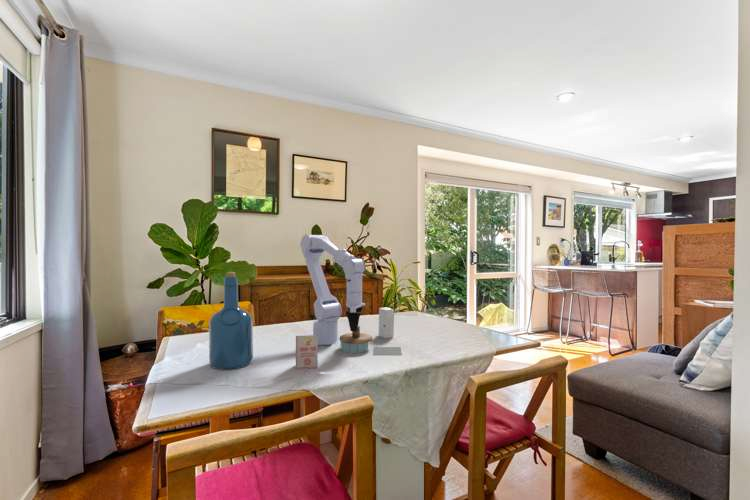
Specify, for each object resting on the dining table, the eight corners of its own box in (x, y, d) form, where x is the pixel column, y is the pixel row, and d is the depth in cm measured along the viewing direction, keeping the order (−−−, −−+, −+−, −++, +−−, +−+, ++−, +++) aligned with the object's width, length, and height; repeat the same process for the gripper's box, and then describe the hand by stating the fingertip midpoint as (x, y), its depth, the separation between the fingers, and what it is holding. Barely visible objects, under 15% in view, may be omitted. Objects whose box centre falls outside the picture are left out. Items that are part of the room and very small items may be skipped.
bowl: (339, 354, 131) (339, 342, 131) (342, 346, 141) (342, 335, 141) (367, 354, 131) (367, 342, 130) (368, 346, 141) (368, 335, 140)
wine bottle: (210, 360, 124) (209, 271, 124) (252, 355, 129) (251, 270, 128) (207, 373, 111) (206, 274, 111) (253, 368, 116) (253, 273, 115)
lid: (337, 343, 130) (337, 329, 130) (342, 334, 142) (342, 322, 142) (371, 343, 129) (371, 330, 129) (373, 335, 141) (373, 322, 141)
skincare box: (377, 336, 155) (377, 307, 155) (387, 335, 157) (387, 306, 157) (385, 339, 150) (385, 310, 149) (394, 338, 152) (394, 309, 152)
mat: (373, 356, 128) (373, 355, 127) (373, 348, 138) (373, 346, 137) (402, 356, 127) (402, 355, 127) (400, 348, 137) (400, 346, 137)
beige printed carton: (296, 365, 119) (296, 334, 119) (317, 364, 120) (317, 333, 120) (295, 369, 115) (295, 337, 115) (317, 367, 117) (317, 336, 116)
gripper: (364, 294, 128) (364, 333, 128) (366, 289, 142) (366, 324, 143) (344, 294, 128) (344, 333, 128) (347, 288, 142) (347, 323, 143)
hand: (354, 328), depth 135 cm, fingers open, 7 cm apart
